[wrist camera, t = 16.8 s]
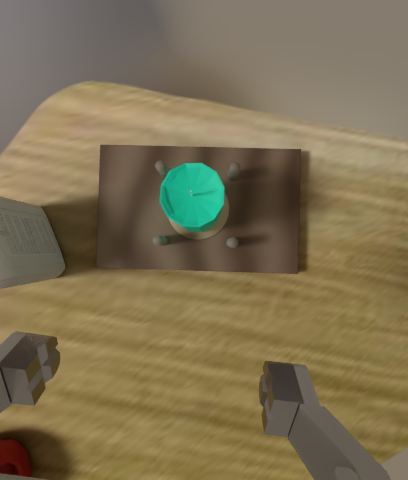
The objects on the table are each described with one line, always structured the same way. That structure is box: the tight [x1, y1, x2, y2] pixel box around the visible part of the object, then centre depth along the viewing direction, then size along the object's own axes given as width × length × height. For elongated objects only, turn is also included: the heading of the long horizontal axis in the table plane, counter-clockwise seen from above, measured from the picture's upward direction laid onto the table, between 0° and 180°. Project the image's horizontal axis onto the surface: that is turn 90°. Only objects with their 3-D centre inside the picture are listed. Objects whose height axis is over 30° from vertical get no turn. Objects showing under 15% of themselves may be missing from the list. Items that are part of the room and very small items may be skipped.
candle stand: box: [96, 145, 301, 274], centre depth 34 cm, size 26×16×6 cm, turn 88°
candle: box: [159, 163, 225, 232], centre depth 29 cm, size 6×6×12 cm
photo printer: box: [0, 197, 65, 289], centre depth 31 cm, size 10×4×12 cm, turn 23°
